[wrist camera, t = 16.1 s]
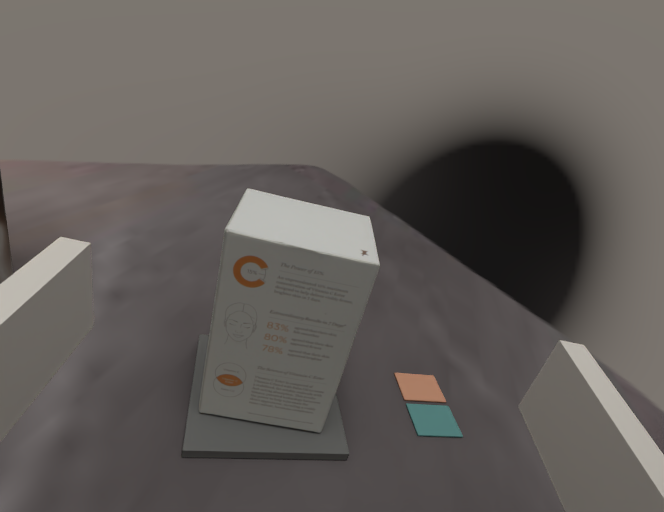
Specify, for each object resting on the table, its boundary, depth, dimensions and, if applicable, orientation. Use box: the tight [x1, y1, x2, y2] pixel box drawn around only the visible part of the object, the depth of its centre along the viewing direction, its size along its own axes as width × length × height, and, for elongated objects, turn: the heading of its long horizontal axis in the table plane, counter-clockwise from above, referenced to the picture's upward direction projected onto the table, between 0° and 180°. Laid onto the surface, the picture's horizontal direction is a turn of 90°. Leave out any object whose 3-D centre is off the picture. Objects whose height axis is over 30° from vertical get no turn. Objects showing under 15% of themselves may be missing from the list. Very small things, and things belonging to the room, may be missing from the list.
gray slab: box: [182, 334, 349, 460], centre depth 31 cm, size 10×10×1 cm
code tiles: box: [394, 373, 463, 437], centre depth 34 cm, size 4×6×1 cm, turn 10°
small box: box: [199, 188, 380, 433], centre depth 27 cm, size 8×6×13 cm
